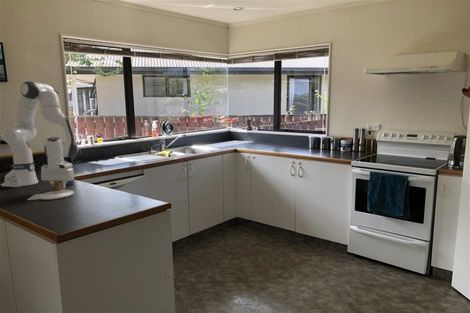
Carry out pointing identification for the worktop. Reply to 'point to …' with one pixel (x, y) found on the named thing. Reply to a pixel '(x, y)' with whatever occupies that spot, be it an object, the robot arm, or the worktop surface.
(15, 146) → the robot arm
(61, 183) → the block
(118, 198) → the worktop surface
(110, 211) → the worktop surface
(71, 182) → the flask
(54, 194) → the plate
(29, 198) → the napkin
